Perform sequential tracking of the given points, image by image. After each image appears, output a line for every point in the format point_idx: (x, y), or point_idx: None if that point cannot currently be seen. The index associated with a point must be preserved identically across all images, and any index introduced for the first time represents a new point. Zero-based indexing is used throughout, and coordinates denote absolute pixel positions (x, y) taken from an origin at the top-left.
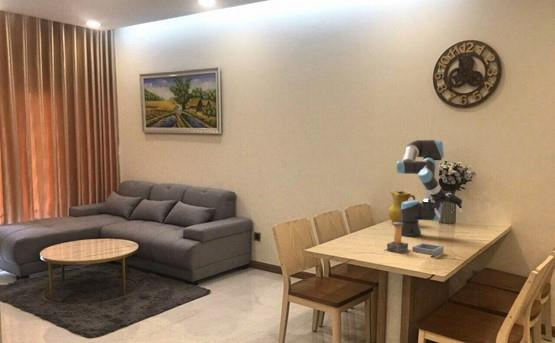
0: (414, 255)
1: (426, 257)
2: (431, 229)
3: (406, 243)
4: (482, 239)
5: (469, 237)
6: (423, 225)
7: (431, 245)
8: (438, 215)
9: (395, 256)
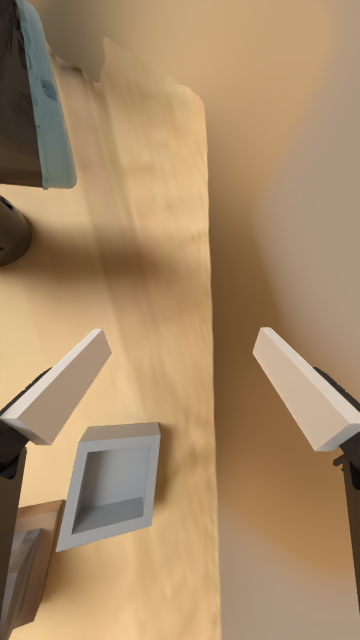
0: None
1: None
2: None
3: (10, 583)
4: (195, 229)
5: (168, 219)
6: None
7: (120, 447)
8: (96, 374)
9: None
